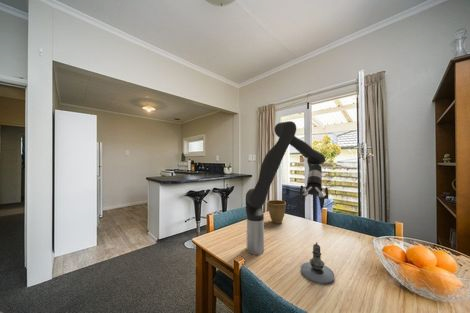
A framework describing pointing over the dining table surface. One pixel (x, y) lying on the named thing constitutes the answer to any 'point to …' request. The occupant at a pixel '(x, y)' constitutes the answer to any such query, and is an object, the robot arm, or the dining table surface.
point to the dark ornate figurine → (316, 260)
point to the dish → (317, 278)
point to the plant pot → (276, 210)
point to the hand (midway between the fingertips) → (312, 203)
